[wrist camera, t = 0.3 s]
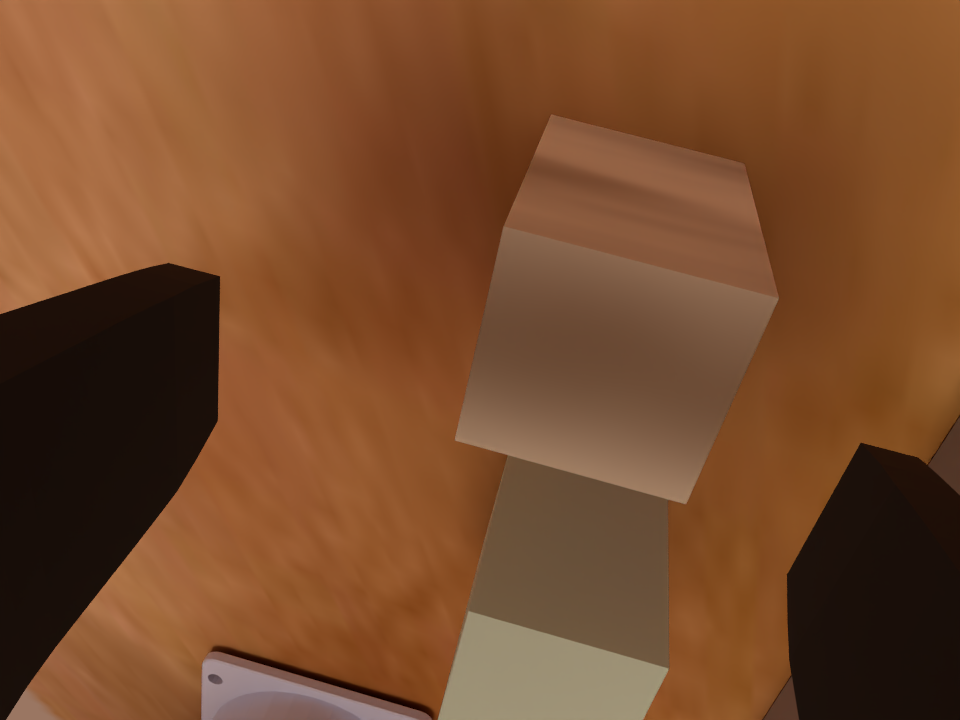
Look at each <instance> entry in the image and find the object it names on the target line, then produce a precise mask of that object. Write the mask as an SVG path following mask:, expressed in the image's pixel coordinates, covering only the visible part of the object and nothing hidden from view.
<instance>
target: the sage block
mask: <svg viewBox="0 0 960 720" xmlns="http://www.w3.org/2000/svg"><path fill="white" fill-rule="evenodd" d="M668 670H669V577H668V499H665V498H661V497H658V496H654V495H650V494H647V493H643V492H639V491H636V490H632V489H629V488H625V487H621V486H618V485H614V484H611V483H607V482H603V481H600V480H596V479H592V478H589V477H585V476H582V475H578V474H574V473H571V472H567V471H564V470H560V469H556V468H553V467H549V466H545V465H542V464H538V463H535V462H531V461H527V460H524V459H520V458H517V457H513V456H509V455H508V456H507V460H506V463H505V467H504V471H503V474H502V478H501V481H500V485H499V489H498V492H497V496H496V499H495V503H494V507H493V510H492V514H491V517H490V521H489V525H488V528H487V532H486V535H485V539H484V543H483V547H482V551H481V554H480V558H479V562H478V566H477V570H476V574H475V578H474V581H473V585H472V589H471V593H470V597H469V601H468V605H467V608H466V612H465V616H464V620H463V624H462V628H461V632H460V635H459V639H458V643H457V647H456V651H455V655H454V659H453V663H452V666H451V670H450V674H449V678H448V682H447V686H446V690H445V693H444V697H443V701H442V705H441V709H440V713H439V717H438V720H643V719H644V717H645V715H646V713H647V711H648V709H649V707H650V705H651V703H652V701H653V699H654V697H655V695H656V693H657V691H658V690H659V688H660V686H661V684H662V682H663V680H664V678H665V676H666V674H667V672H668Z"/></svg>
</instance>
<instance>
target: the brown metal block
mask: <svg viewBox="0 0 960 720" xmlns="http://www.w3.org/2000/svg"><path fill="white" fill-rule="evenodd" d="M778 299H779V296H778V292H777V288H776V284H775V281H774V277H773V273H772V269H771V265H770V261H769V257H768V253H767V249H766V245H765V242H764V238H763V234H762V230H761V226H760V222H759V218H758V214H757V210H756V206H755V202H754V199H753V195H752V191H751V187H750V183H749V179H748V175H747V171H746V167H745V163H741V162H737V161H733V160H729V159H726V158H722V157H718V156H714V155H710V154H706V153H702V152H698V151H694V150H690V149H686V148H682V147H678V146H674V145H670V144H666V143H662V142H658V141H654V140H650V139H647V138H643V137H639V136H635V135H631V134H627V133H623V132H619V131H615V130H611V129H607V128H603V127H599V126H595V125H591V124H587V123H583V122H579V121H575V120H572V119H568V118H564V117H560V116H556V115H552V114H551V116H550V118H549V121H548V123H547V125H546V128H545V130H544V132H543V135H542V137H541V139H540V142H539V144H538V147H537V149H536V151H535V154H534V156H533V158H532V161H531V163H530V165H529V168H528V170H527V172H526V175H525V177H524V179H523V182H522V184H521V186H520V189H519V191H518V194H517V196H516V198H515V201H514V203H513V205H512V208H511V210H510V212H509V215H508V217H507V219H506V222H505V224H504V227H503V231H502V235H501V240H500V244H499V248H498V253H497V257H496V262H495V266H494V270H493V275H492V279H491V283H490V288H489V292H488V297H487V301H486V305H485V310H484V314H483V318H482V323H481V327H480V332H479V336H478V340H477V345H476V349H475V353H474V358H473V362H472V367H471V371H470V375H469V380H468V384H467V388H466V393H465V397H464V402H463V406H462V410H461V415H460V419H459V423H458V428H457V432H456V437H455V441H459V442H462V443H466V444H470V445H473V446H477V447H480V448H484V449H488V450H491V451H495V452H498V453H502V454H506V455H509V456H513V457H517V458H520V459H524V460H527V461H531V462H535V463H538V464H542V465H545V466H549V467H553V468H556V469H560V470H564V471H567V472H571V473H574V474H578V475H582V476H585V477H589V478H592V479H596V480H600V481H603V482H607V483H611V484H614V485H618V486H621V487H625V488H629V489H632V490H636V491H639V492H643V493H647V494H650V495H654V496H658V497H661V498H665V499H668V500H672V501H676V502H679V503H683V504H686V503H687V501H688V499H689V497H690V494H691V492H692V490H693V488H694V485H695V483H696V481H697V479H698V477H699V474H700V472H701V470H702V468H703V466H704V463H705V461H706V459H707V457H708V454H709V452H710V450H711V448H712V446H713V443H714V441H715V439H716V437H717V435H718V432H719V430H720V428H721V426H722V423H723V421H724V419H725V417H726V415H727V412H728V410H729V408H730V406H731V404H732V401H733V399H734V397H735V395H736V392H737V390H738V388H739V386H740V384H741V381H742V379H743V377H744V375H745V373H746V370H747V368H748V366H749V364H750V361H751V359H752V357H753V355H754V353H755V350H756V348H757V346H758V344H759V342H760V339H761V337H762V335H763V333H764V330H765V328H766V326H767V324H768V322H769V319H770V317H771V315H772V313H773V311H774V308H775V306H776V304H777V302H778Z"/></svg>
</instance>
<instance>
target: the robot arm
mask: <svg viewBox="0 0 960 720" xmlns="http://www.w3.org/2000/svg"><path fill="white" fill-rule="evenodd" d="M219 304H220V276H216V275H213V274H209V273H205V272H201V271H197V270H193V269H189V268H186V267H182V266H178V265H174V264H170V263H167V264H162V265H158V266H153V267H149V268H145V269H141V270H138V271H134V272H131V273H127V274H124V275H121V276H118V277H114V278H111V279H108V280H105V281H102V282H99V283H96V284H92V285H89V286H86V287H83V288H80V289H77V290H74V291H71V292H68V293H65V294H62V295H59V296H56V297H52V298H49V299H46V300H43V301H40V302H37V303H34V304H31V305H28V306H25V307H21V308H18V309H15V310H12V311H9V312H6V313H3V314H0V720H6V719H7V717H8V716H9V714H10V713H11V711H12V709H13V708H14V706H15V705H16V703H17V702H18V700H19V698H20V697H21V695H22V694H23V692H24V691H25V689H26V688H27V686H28V685H29V683H30V682H31V680H32V679H33V678H34V676H35V675H36V674H37V672H38V671H39V669H40V668H41V667H42V665H43V664H44V662H45V661H46V660H47V658H48V657H49V655H50V654H51V653H52V651H53V650H54V649H55V647H56V646H57V645H58V643H59V642H60V641H61V640H62V638H63V637H64V636H65V634H66V633H67V632H68V631H69V629H70V628H71V627H72V626H73V624H74V623H75V622H76V620H77V619H78V618H79V617H80V615H81V614H82V613H83V612H84V610H85V609H86V608H87V606H88V605H89V604H90V603H91V601H92V600H93V599H94V598H95V596H96V595H97V594H98V593H99V591H100V590H101V589H102V587H103V586H104V585H105V584H106V582H107V581H108V580H109V579H110V577H111V576H112V575H113V573H114V572H115V571H116V570H117V568H118V567H119V566H120V565H121V563H122V562H123V561H124V559H125V558H126V557H127V556H128V554H129V553H130V552H131V551H132V549H133V548H134V547H135V545H136V544H137V543H138V542H139V540H140V539H141V538H142V536H143V535H144V534H145V533H146V531H147V530H148V529H149V527H150V526H151V525H152V523H153V522H154V521H155V520H156V518H157V517H158V516H159V514H160V513H161V512H162V511H163V509H164V508H165V507H166V505H167V504H168V503H169V501H170V500H171V499H172V497H173V496H174V495H175V493H176V492H177V491H178V489H179V487H180V486H181V484H182V482H183V481H184V479H185V477H186V476H187V474H188V472H189V471H190V469H191V467H192V466H193V464H194V462H195V461H196V459H197V457H198V455H199V454H200V452H201V450H202V448H203V446H204V445H205V443H206V441H207V439H208V437H209V436H210V434H211V432H212V430H213V428H214V427H215V425H216V423H217V421H218V370H219ZM787 609H788V641H789V660H790V667H791V674H792V680H793V686H794V693H795V699H796V705H797V711H798V717H799V720H960V495H959V494H958V493H957V492H956V491H955V490H954V489H953V488H952V487H951V486H950V485H949V484H947V483H946V482H945V481H944V480H943V479H942V478H941V477H940V476H939V475H938V474H937V473H936V472H935V471H933V470H932V469H931V468H930V467H929V466H928V465H926V464H925V463H924V462H923V461H922V460H920V459H919V458H917V457H914V456H910V455H906V454H902V453H898V452H894V451H890V450H887V449H883V448H879V447H875V446H871V445H867V444H863V443H860V445H859V447H858V449H857V451H856V452H855V454H854V456H853V458H852V460H851V461H850V463H849V465H848V467H847V469H846V470H845V472H844V474H843V476H842V477H841V479H840V481H839V483H838V485H837V486H836V488H835V490H834V492H833V494H832V495H831V497H830V499H829V501H828V502H827V504H826V506H825V508H824V510H823V511H822V513H821V515H820V517H819V519H818V520H817V522H816V524H815V526H814V528H813V529H812V531H811V533H810V535H809V536H808V538H807V540H806V542H805V544H804V545H803V547H802V549H801V551H800V553H799V554H798V556H797V558H796V560H795V561H794V563H793V565H792V567H791V569H790V570H789V572H788V574H787ZM201 720H432V719H431V717H430V716H429V715H428V714H426V713H424V712H422V711H419V710H415V709H412V708H409V707H405V706H402V705H398V704H395V703H392V702H388V701H385V700H382V699H378V698H375V697H371V696H368V695H365V694H361V693H358V692H354V691H351V690H348V689H344V688H341V687H337V686H334V685H331V684H327V683H324V682H320V681H317V680H314V679H310V678H307V677H304V676H300V675H297V674H293V673H290V672H287V671H283V670H280V669H276V668H273V667H270V666H266V665H263V664H259V663H256V662H253V661H249V660H246V659H242V658H239V657H236V656H232V655H229V654H225V653H222V652H217V651H216V652H210V653H209V654H207V656H206V657H205V659H204V661H203V663H202V701H201Z"/></svg>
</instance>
